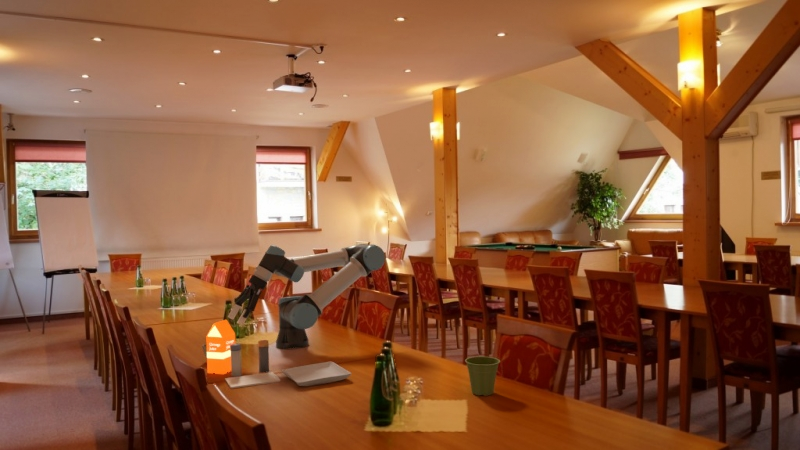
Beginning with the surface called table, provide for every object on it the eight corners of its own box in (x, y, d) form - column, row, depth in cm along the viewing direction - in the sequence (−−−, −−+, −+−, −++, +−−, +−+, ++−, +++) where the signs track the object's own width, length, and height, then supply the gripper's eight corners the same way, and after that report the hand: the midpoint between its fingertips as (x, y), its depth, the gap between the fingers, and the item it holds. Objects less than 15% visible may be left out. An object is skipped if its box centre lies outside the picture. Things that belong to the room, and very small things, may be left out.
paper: (272, 373, 245) (272, 372, 245) (280, 381, 233) (280, 380, 233) (225, 379, 237) (225, 378, 237) (230, 388, 225) (230, 387, 225)
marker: (268, 369, 251) (267, 339, 251) (270, 371, 248) (269, 341, 247) (258, 370, 250) (257, 340, 249) (260, 372, 246) (259, 342, 246)
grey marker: (240, 373, 246) (239, 343, 246) (242, 375, 242) (241, 345, 242) (230, 374, 244) (229, 344, 244) (232, 377, 241) (231, 346, 240)
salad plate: (297, 391, 222) (297, 381, 222) (280, 377, 240) (280, 368, 240) (352, 382, 231) (352, 372, 231) (332, 369, 250) (331, 360, 250)
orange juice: (236, 368, 254) (235, 319, 253) (223, 374, 245) (222, 323, 245) (220, 367, 256) (218, 319, 256) (206, 373, 248) (205, 323, 247)
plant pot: (492, 400, 205) (491, 366, 204) (459, 395, 211) (458, 362, 210) (506, 391, 215) (505, 358, 214) (474, 386, 221) (474, 354, 220)
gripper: (244, 270, 282) (219, 312, 277) (262, 277, 261) (236, 322, 256) (258, 278, 286) (233, 319, 281) (277, 286, 264) (251, 330, 260)
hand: (234, 321), depth 268 cm, fingers open, 13 cm apart
